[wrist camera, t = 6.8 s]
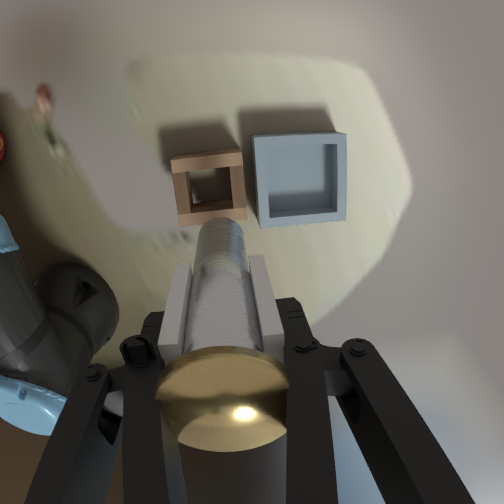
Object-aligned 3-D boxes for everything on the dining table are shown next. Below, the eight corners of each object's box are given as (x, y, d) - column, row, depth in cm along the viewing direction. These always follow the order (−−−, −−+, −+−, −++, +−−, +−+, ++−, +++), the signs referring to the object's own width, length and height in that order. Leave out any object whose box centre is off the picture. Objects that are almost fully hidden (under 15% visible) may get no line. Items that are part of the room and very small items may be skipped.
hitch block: (183, 216, 41) (180, 226, 38) (174, 155, 38) (170, 160, 34) (244, 209, 42) (247, 219, 38) (239, 148, 38) (241, 152, 35)
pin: (192, 271, 24) (173, 453, 10) (182, 210, 22) (133, 374, 8) (256, 264, 24) (297, 443, 11) (252, 202, 22) (301, 359, 9)
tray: (256, 219, 42) (260, 228, 39) (250, 135, 38) (253, 137, 35) (336, 211, 43) (345, 220, 40) (336, 131, 38) (346, 133, 35)
